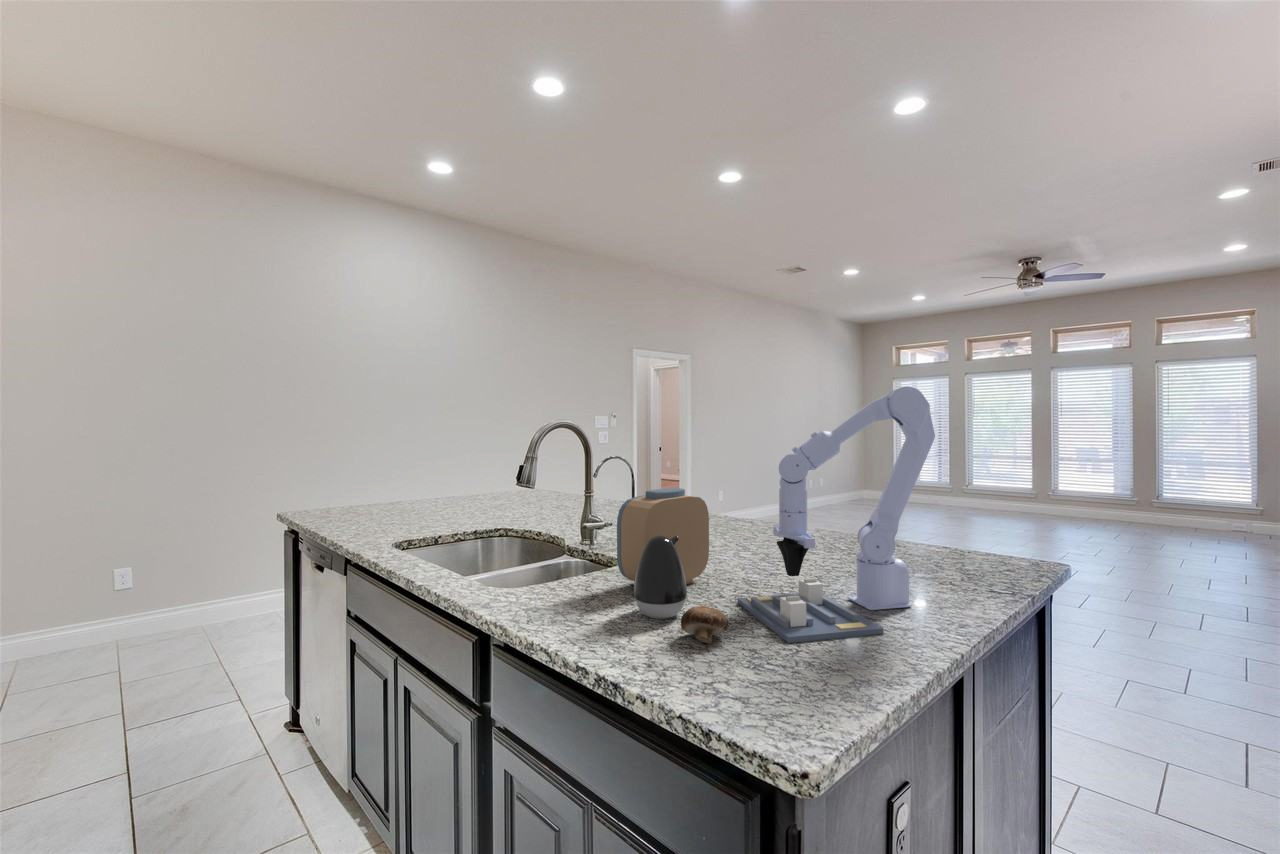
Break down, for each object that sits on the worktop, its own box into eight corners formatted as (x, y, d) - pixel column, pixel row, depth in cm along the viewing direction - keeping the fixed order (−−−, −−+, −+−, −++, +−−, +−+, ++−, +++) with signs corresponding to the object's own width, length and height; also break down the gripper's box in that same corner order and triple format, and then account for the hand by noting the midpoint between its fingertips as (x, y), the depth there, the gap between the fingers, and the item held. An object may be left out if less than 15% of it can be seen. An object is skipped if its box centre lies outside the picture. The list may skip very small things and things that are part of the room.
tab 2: (812, 598, 117) (812, 575, 117) (822, 604, 113) (822, 580, 113) (798, 599, 116) (798, 576, 116) (808, 605, 112) (808, 581, 112)
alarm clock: (679, 572, 142) (679, 484, 142) (709, 579, 135) (708, 487, 135) (615, 588, 128) (615, 491, 128) (645, 598, 121) (644, 495, 121)
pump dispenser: (698, 613, 111) (698, 535, 111) (663, 627, 104) (662, 543, 104) (658, 602, 118) (658, 528, 118) (622, 615, 111) (622, 536, 111)
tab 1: (795, 618, 105) (795, 592, 105) (806, 625, 101) (806, 599, 101) (780, 619, 105) (780, 594, 104) (790, 627, 101) (790, 600, 101)
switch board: (817, 596, 122) (817, 586, 122) (883, 633, 100) (883, 621, 100) (737, 603, 118) (737, 592, 118) (788, 643, 96) (788, 629, 96)
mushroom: (713, 634, 91) (709, 596, 95) (672, 644, 95) (670, 607, 99) (738, 646, 96) (734, 609, 100) (699, 655, 100) (696, 619, 104)
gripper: (760, 506, 128) (760, 567, 128) (792, 517, 113) (792, 586, 114) (790, 505, 129) (789, 566, 129) (824, 515, 115) (824, 583, 115)
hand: (793, 575), depth 121 cm, fingers closed
